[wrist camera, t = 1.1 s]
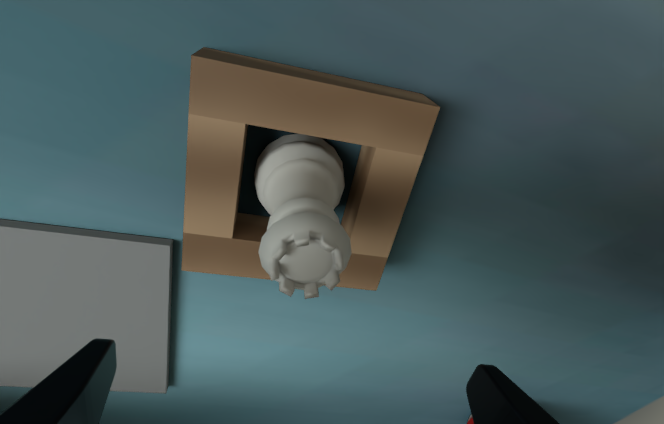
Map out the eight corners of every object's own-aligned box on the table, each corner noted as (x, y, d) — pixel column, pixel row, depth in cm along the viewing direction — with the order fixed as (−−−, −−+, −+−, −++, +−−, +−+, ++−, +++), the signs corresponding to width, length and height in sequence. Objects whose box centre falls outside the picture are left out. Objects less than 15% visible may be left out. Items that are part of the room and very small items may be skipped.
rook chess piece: (235, 169, 19) (207, 268, 12) (303, 110, 18) (313, 182, 11) (296, 225, 21) (301, 338, 14) (360, 175, 20) (399, 270, 13)
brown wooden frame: (367, 262, 23) (376, 290, 21) (192, 241, 21) (181, 270, 19) (421, 93, 18) (440, 107, 16) (203, 47, 16) (191, 55, 14)
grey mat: (168, 385, 26) (166, 393, 26) (-36, 375, 24) (-43, 384, 23) (172, 239, 21) (169, 245, 20) (-92, 208, 18) (-102, 214, 18)
